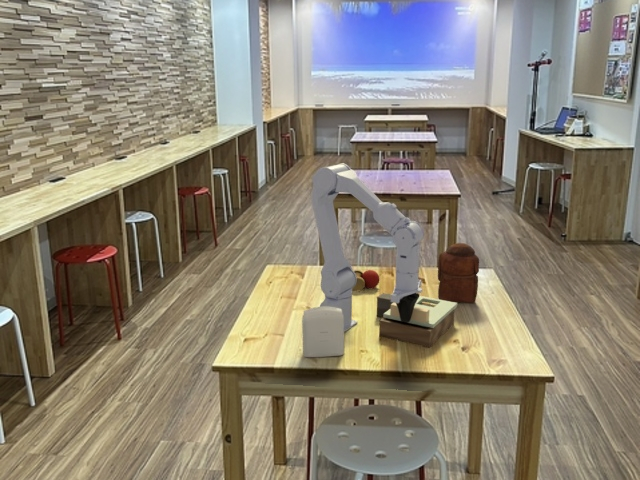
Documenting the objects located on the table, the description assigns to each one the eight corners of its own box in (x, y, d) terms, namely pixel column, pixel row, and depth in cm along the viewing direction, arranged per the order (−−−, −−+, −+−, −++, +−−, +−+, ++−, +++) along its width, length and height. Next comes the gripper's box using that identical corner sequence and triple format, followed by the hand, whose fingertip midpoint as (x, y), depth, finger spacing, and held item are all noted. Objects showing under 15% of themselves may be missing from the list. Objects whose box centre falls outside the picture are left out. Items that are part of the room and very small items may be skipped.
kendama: (325, 296, 196) (381, 289, 195) (322, 276, 196) (378, 269, 195) (325, 292, 204) (379, 285, 203) (323, 273, 203) (377, 266, 203)
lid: (433, 328, 156) (433, 313, 155) (383, 317, 163) (383, 303, 162) (457, 306, 171) (458, 292, 170) (410, 297, 178) (411, 284, 177)
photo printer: (303, 359, 149) (302, 311, 146) (301, 351, 153) (301, 304, 150) (345, 357, 150) (345, 309, 147) (342, 349, 154) (343, 303, 151)
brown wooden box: (429, 347, 155) (429, 331, 154) (379, 336, 162) (379, 320, 161) (453, 324, 170) (454, 309, 169) (406, 314, 177) (407, 299, 176)
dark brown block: (389, 319, 173) (390, 299, 172) (376, 316, 176) (377, 297, 174) (395, 315, 177) (396, 295, 175) (382, 312, 179) (383, 293, 177)
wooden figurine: (474, 297, 191) (477, 241, 187) (477, 304, 185) (481, 246, 180) (435, 295, 192) (438, 240, 188) (437, 303, 186) (440, 245, 182)
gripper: (410, 280, 146) (408, 333, 150) (433, 265, 158) (430, 314, 162) (383, 276, 150) (382, 327, 153) (407, 261, 162) (406, 309, 165)
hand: (405, 320), depth 158 cm, fingers closed
